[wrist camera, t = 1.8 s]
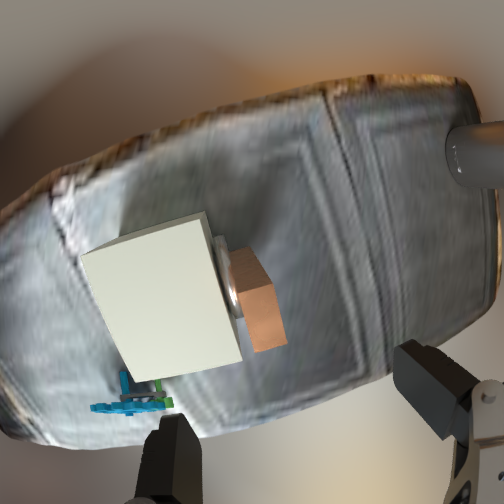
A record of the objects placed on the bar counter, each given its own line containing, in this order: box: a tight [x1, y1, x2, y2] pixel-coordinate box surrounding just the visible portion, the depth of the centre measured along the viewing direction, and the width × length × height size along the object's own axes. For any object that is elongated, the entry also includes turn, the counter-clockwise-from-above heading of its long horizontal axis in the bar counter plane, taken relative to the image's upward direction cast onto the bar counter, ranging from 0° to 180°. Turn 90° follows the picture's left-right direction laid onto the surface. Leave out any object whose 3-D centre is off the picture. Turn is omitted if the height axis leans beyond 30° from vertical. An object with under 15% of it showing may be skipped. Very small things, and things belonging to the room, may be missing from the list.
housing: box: [80, 211, 243, 382], centre depth 25 cm, size 10×12×10 cm
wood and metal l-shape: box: [213, 234, 287, 353], centre depth 22 cm, size 9×8×14 cm
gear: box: [90, 372, 174, 416], centre depth 30 cm, size 11×6×10 cm
